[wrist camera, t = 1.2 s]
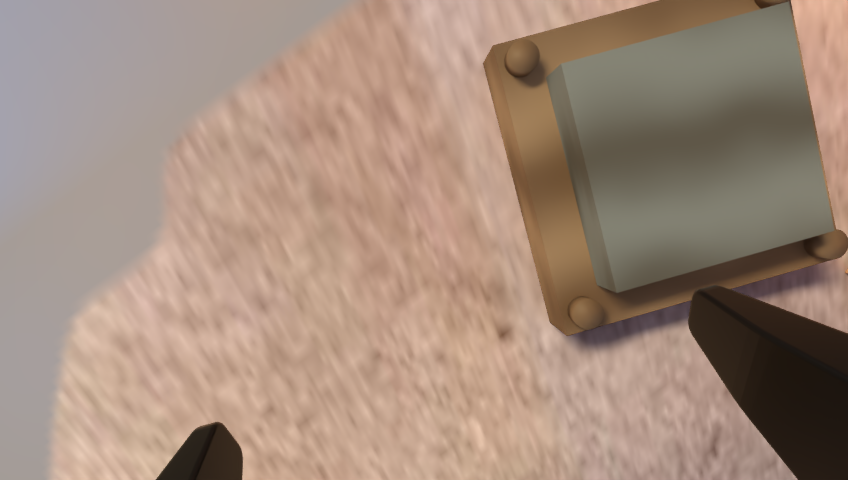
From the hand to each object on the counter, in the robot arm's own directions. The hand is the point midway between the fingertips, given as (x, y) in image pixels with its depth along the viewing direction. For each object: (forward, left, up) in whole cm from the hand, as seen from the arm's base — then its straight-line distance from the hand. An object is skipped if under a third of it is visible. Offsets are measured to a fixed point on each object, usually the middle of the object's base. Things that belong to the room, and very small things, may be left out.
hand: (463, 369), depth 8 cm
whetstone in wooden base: (+2, -13, -15) cm, 20 cm away
